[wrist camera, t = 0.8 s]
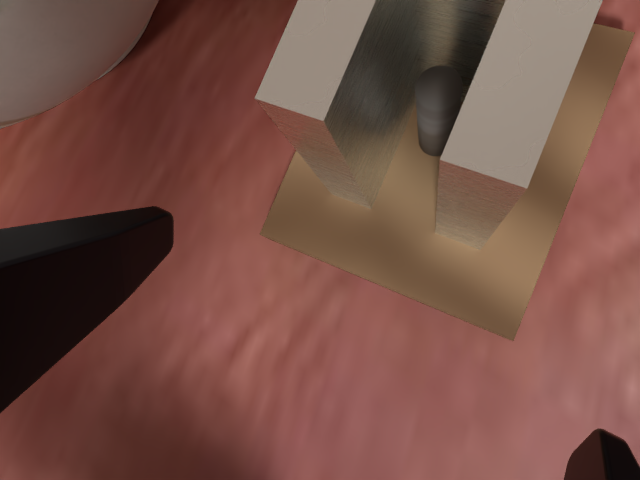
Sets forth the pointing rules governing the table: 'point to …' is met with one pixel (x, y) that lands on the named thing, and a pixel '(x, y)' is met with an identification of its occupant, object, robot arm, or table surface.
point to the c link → (399, 95)
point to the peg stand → (421, 203)
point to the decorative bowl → (61, 49)
